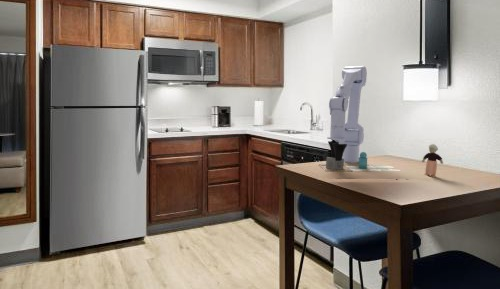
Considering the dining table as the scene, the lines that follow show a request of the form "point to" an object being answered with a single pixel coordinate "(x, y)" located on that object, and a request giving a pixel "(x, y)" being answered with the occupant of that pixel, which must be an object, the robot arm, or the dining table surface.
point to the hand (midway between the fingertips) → (336, 159)
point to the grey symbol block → (334, 163)
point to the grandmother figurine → (432, 161)
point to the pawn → (362, 161)
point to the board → (378, 168)
